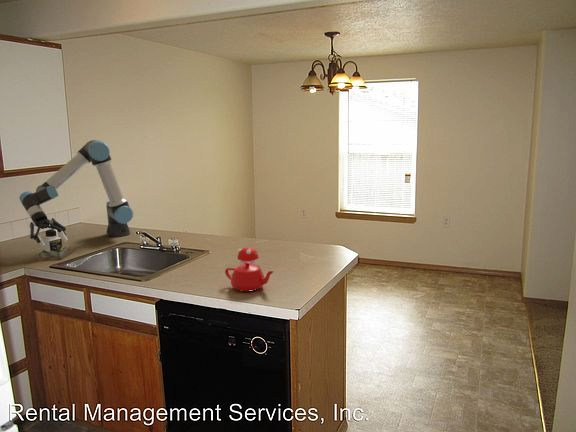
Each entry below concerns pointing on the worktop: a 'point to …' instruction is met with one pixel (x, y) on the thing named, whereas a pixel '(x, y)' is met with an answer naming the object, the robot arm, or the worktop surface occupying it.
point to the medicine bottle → (52, 241)
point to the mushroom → (247, 255)
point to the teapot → (247, 277)
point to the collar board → (54, 255)
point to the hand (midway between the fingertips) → (55, 243)
